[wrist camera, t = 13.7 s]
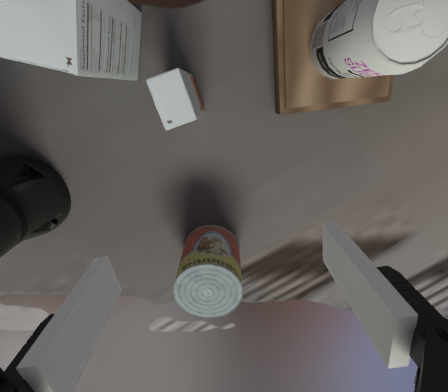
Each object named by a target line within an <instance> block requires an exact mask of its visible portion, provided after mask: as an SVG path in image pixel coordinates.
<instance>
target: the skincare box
mask: <svg viewBox="0 0 448 392" xmlns="http://www.w3.org/2000/svg"><path fill="white" fill-rule="evenodd" d="M146 82H147V85H148V87H149V90H150V92H151V95H152V98H153V100H154V104H155V106H156V109H157V111H158V113H159V115H160V118H161V120H162V123H163V125H164V128H165V130H169V129H172V128H175V127H177V126H180V125H183V124H186V123H188V122H191V121H194V120H196V119H198V118H199V117H200V116H201V115H202V114H203V113H204V109H203V107H202V104H201V101H200V98H199V95H198V92H197V89H196V86H195V83H194V80H193V76H192V75H191V74H189V73H187V72H185V71H184V70H182V69H180V68H175V69H172V70H170V71H167V72H164V73H161V74H158V75H155V76H152V77H150V78H147V79H146Z"/></svg>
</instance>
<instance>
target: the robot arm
mask: <svg viewBox="0 0 448 392" xmlns="http://www.w3.org/2000/svg"><path fill="white" fill-rule="evenodd" d="M70 204H71V203H70V195H69V192H68V189H67V187H66V185H65V183H64V182H63V180H62V179H61V177H60V176H59V175H58V174H57V173H56V172H55V171H54V170H53V169H52V168H51V167H49V166H48V165H46V164H45V163H43V162H41V161H40V160H37V159H35V158H33V157H29V156H25V155H18V154H13V155H6V156H3V157H0V257H1V256H3V255H4V254H5V253H6V252H8V251H9V250H10V249H12V248H13V247H14V246H16V245H17V244H18V243H20V242H21V241H24V240H27V239H30V238H33V237H36V236H39V235H42V234H45V233H48V232H50V231H52V230H53V229H55V228H56V227H57V226H59V225H60V224H61V223H62V222H63V221H64V220H65V219H66V218H67V216H68V214H69V211H70ZM323 262H324V263H325V265H326V267H327V268H328V270H329V272H330V273H331V275H332V277H333V278H334V280H335V282H336V283H337V285H338V287H339V288H340V290H341V291H342V293H343V295H344V296H345V298H346V300H347V301H348V303H349V305H350V306H351V308H352V310H353V311H354V313H355V315H356V316H357V318H358V319H359V321H360V323H361V324H362V326H363V328H364V329H365V331H366V333H367V334H368V336H369V338H370V339H371V341H372V342H373V344H374V346H375V347H376V349H377V351H378V353H379V354H380V356H381V358H382V359H383V361H384V362H385V364H386V366H387V367H388V368H395V367H404V366H408V364H409V359H410V356H411V358H412V359H413V361H414V362H415V363H416V365H417V366H418V368H417V372H416V377H415V381H414V383H415V390H414V392H448V319H445V318H444V317H443V316H442V315H441V314H440V313H439V312H438V311H437V310H436V309H435V308H434V307H433V306H432V305H431V304H430V303H429V302H428V301H427V300H426V299H425V298H424V297H423V296H422V295H421V294H420V293H419V292H418V291H417V290H415V288H414V287H413V286H412V285H411V284H410V283H408V281H407V280H406V279H405V278H404V277H403V276H402V274H401V273H400V272H398V271H396V270H394V269H393V268H391V267H389V266H383V267H376V266H375V265H374V264H373V263H372V262H371V261H370V260H369V259H368V257H367V256H366V255H365V254H364V253H363V252H362V251H361V249H360V248H359V247H358V246H357V245H356V244H355V243H354V241H353V240H352V239H351V238H350V237H349V236H348V235H347V234H346V232H345V231H344V230H343V229H342V228H341V227H340V226H339V224H338V223H337V222H336V221H335V222H328V223H323ZM121 291H122V289H121V286H120V284H119V282H118V279H117V277H116V274H115V272H114V270H113V267H112V265H111V263H110V260H109V258H108V256H102V257H96V258H95V259H94V260H93V262H92V263H91V265H90V266H89V267H88V269H87V270H86V271H85V273H84V274H83V276H82V277H81V278H80V280H79V281H78V283H77V284H76V285H75V287H74V288H73V290H72V291H71V292H70V294H69V295H68V296H67V298H66V299H65V301H64V302H63V304H62V305H61V306H60V308H59V309H58V310H57V312H56V313H55V314H51V315H49V316H48V317H47V318H46V319H45V320H44V321H43V322H42V323H40V325H39V326H38V327H37V329H36V330H35V331H34V333H33V335H32V336H31V337H30V338H29V339H28V341H27V343H26V344H25V345H24V346H23V347H22V349H21V350H20V351H19V353H18V354H17V355H16V357H15V358H14V359H13V361H12V362H11V363H10V365H9V366H8V367H7V369H6V370H5V371H3V370H2V369H1V368H0V392H74V390H75V388H76V386H77V384H78V381H79V380H80V377H81V375H82V373H83V371H84V369H85V367H86V365H87V363H88V361H89V358H90V356H91V354H92V352H93V350H94V348H95V346H96V343H97V342H98V339H99V337H100V335H101V333H102V331H103V329H104V327H105V325H106V323H107V320H108V318H109V316H110V314H111V312H112V310H113V308H114V306H115V303H116V301H117V299H118V297H119V295H120V293H121Z"/></svg>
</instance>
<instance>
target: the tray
mask: <svg viewBox="0 0 448 392" xmlns="http://www.w3.org/2000/svg"><path fill="white" fill-rule="evenodd" d="M344 1H346V0H272V22H273V48H274V75H275V101H276V113H278V114H280V115H283V114H291V113H299V112H307V111H315V110H323V109H331V108H339V107H347V106H355V105H363V104H371V103H379V102H387V101H391V94H392V86H393V78H394V75H384V76H371V77H358V78H346V79H330V78H327V77H324V76H322V75H321V74H320V73H319V72H318V71H317V70H316V69H315V67H314V65H313V63H312V61H311V56H310V43H311V39H312V34H313V32H314V31H315V29H316V27H317V25H318V23H319V22H320V21H321V20H322V19H323V18H324V17H325V16H326V15H327V14H328V13H329V12H331V11H332V10H333V9H335V8H336V7H337V6H339V5H340V4H342V3H343V2H344Z"/></svg>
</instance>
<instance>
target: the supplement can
mask: <svg viewBox="0 0 448 392" xmlns="http://www.w3.org/2000/svg"><path fill="white" fill-rule="evenodd" d="M447 44H448V0H346V1H344V2H343V3H342V4H340V5H339V6H337V7H336V8H335V9H333V10H332V11H331V12H329V13H328V14H327V15H326V16H325V17H324V18H323V19H322V20H321V21H320V22H319V23H318V25H317V27H316V29H315V31H314V32H313V34H312V39H311V43H310V56H311V61H312V63H313V65H314V67H315V69H316V70H317V71H318V72H319V73H320V74H321V75H322V76H324V77H327V78H330V79H346V78H358V77H371V76H384V75H397V74H405V73H407V72H409V71H412V70H414V69H416V68H419V67H421V66H422V65H423V64H424V63H426V62H427V61H428V60H429V59H431V58H432V57H433V56H435V55H436V54H437V53H438V52H439V51H441V50H442V49H443V48H444V47H445V46H446V45H447Z"/></svg>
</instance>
